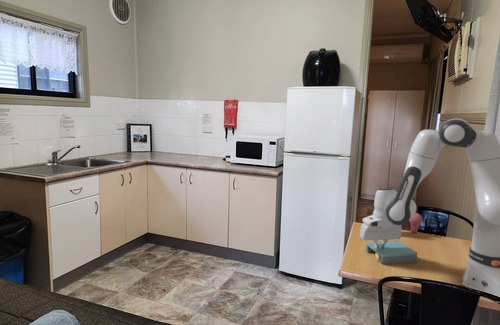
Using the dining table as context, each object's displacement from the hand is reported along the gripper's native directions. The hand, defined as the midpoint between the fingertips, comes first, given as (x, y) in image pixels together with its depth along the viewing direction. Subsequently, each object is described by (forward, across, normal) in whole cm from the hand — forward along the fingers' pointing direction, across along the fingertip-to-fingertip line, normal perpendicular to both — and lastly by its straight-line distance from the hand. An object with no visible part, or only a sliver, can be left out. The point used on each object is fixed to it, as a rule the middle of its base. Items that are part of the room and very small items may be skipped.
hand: (379, 247), depth 157 cm
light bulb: (+5, -38, -26) cm, 46 cm away
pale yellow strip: (+5, -6, +3) cm, 8 cm away
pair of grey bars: (+4, -6, +1) cm, 7 cm away
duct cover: (+1, -6, +1) cm, 6 cm away
